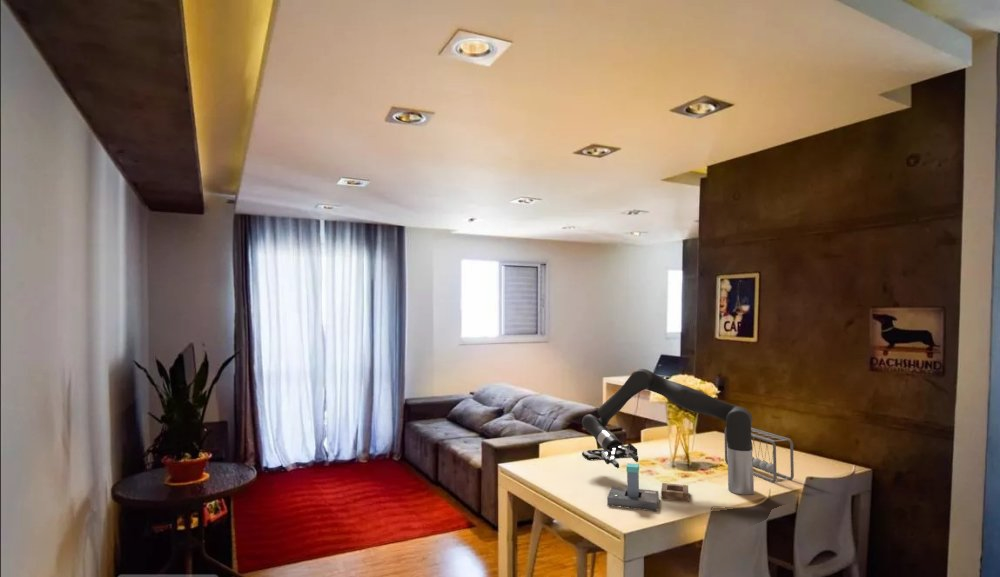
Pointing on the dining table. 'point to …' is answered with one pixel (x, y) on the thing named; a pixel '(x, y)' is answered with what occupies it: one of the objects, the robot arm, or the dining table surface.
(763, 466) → the newton's cradle
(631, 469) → the plug
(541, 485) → the dining table surface
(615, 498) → the port panel
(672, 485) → the holster
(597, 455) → the graphics card
